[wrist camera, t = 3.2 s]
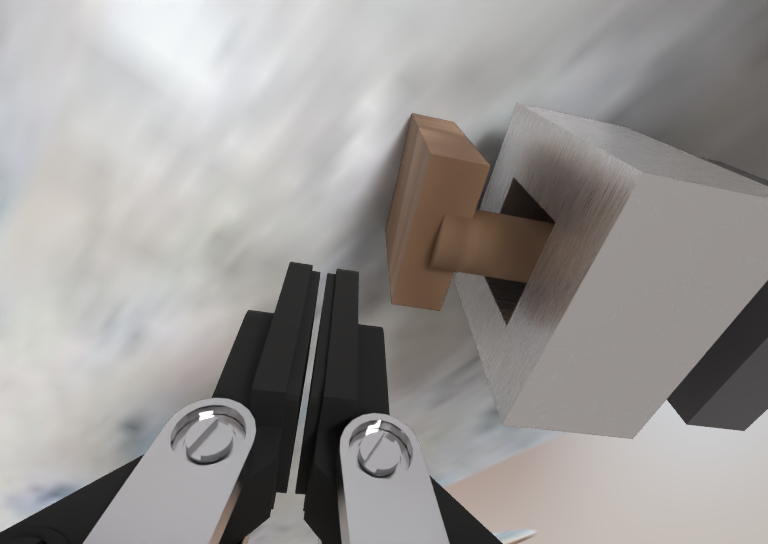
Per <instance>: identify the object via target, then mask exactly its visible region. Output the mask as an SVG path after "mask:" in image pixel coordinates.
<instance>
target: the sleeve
mask: <svg viewBox="0 0 768 544" xmlns="http://www.w3.org/2000/svg"><path fill="white" fill-rule="evenodd" d="M479 210H483V211H488V212H494V213H499V214H505V215H510V216H516V217H521V218H527V219H532V220H538V221H543V222H549V223H554V224H555V225H554V227H553V230H552V232H551V234H550V236H549V238H548V240H547V242H546V244H545V247H544V249H543V251H542V253H541V255H540V257H539V259H538V261H537V263H536V266H535V268H534V270H533V272H532V274H531V276H530V278H529V280H528V283H524V282H518V281H512V280H505V279H499V278H493V277H486V276H480V275H474V274H467V273H461V272H457V274H456V276H455V279H454V281H455V284H456V287H457V290H458V293H459V296H460V299H461V302H462V305H463V308H464V311H465V314H466V317H467V320H468V323H469V326H470V329H471V332H472V335H473V338H474V341H475V344H476V348H477V351H478V354H479V357H480V360H481V363H482V366H483V369H484V372H485V375H486V378H487V381H488V384H489V387H490V390H491V393H492V396H493V399H494V402H495V405H496V408H497V411H498V414H499V417H500V420H501V423H502V425H506V426H515V427H525V428H534V429H544V430H553V431H563V432H572V433H582V434H592V435H601V436H610V437H620V438H629V439H633V438H634V437H635V436H636V435H637V433H638V432H639V431H640V430H641V429H642V428H643V426H644V425H645V424H646V423H647V422H648V420H649V419H650V418H651V417H652V416H653V414H654V413H655V412H656V411H657V410H658V409H659V408H660V406H661V405H662V404H663V403H664V402H665V400H666V399H667V398H668V397H669V396H670V395H671V393H672V392H673V391H674V390H675V389H676V387H677V386H678V385H679V384H680V383H681V382H682V380H683V379H684V378H685V377H686V376H687V375H688V373H689V372H690V371H691V370H692V369H693V367H694V366H695V365H696V364H697V363H698V362H699V360H700V359H701V358H702V357H703V356H704V355H705V353H706V352H707V351H708V350H709V349H710V347H711V346H712V345H713V344H714V343H715V342H716V340H717V339H718V338H719V337H720V336H721V334H722V333H723V332H724V331H725V330H726V329H727V327H728V326H729V325H730V324H731V323H732V322H733V320H734V319H735V318H736V317H737V316H738V314H739V313H740V312H741V311H742V310H743V309H744V307H745V306H746V305H747V304H748V303H749V302H750V300H751V299H752V298H753V297H754V296H755V294H756V293H757V292H758V291H759V290H760V289H761V287H762V286H763V285H764V284H765V283H766V282H767V280H768V186H766V185H763V184H761V183H758V182H756V181H754V180H751V179H749V178H746V177H744V176H742V175H739V174H737V173H734V172H732V171H730V170H727V169H725V168H722V167H720V166H718V165H715V164H713V163H710V162H708V161H706V160H703V159H701V158H698V157H696V156H694V155H691V154H689V153H686V152H684V151H682V150H679V149H677V148H674V147H672V146H670V145H667V144H665V143H662V142H660V141H658V140H655V139H653V138H650V137H648V136H646V135H643V134H641V133H638V132H636V131H634V130H631V129H629V128H626V127H623V126H619V125H614V124H610V123H605V122H601V121H596V120H592V119H588V118H583V117H579V116H574V115H570V114H565V113H561V112H556V111H552V110H547V109H543V108H538V107H534V106H529V105H525V104H520V103H517V104H516V107H515V110H514V113H513V116H512V119H511V121H510V124H509V127H508V130H507V133H506V135H505V138H504V141H503V144H502V147H501V150H500V152H499V155H498V158H497V161H496V164H495V166H494V169H493V172H492V175H491V178H490V181H489V183H488V186H487V189H486V192H485V195H484V197H483V200H482V203H481V206H480V209H479Z"/></svg>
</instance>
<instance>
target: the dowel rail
mask: <svg viewBox="0 0 768 544" xmlns="http://www.w3.org/2000/svg"><path fill="white" fill-rule="evenodd" d="M490 167H491V165H490V164H489V163H488V162H487V161H486V159H485V158H484V157H483V156H482V155H481V153H480V152H479V151H478V150H477V149H476V148H475V146H474V145H473V144H472V143H471V142H470V140H469V139H468V138H467V137H466V136H465V135H464V133H463V132H462V131H461V130H460V129H459V127H458V126H457V125H456V124H455V123H454V122H451V121H446V120H441V119H437V118H432V117H427V116H422V115H418V114H413V113H412V116H411V120H410V124H409V129H408V133H407V138H406V142H405V146H404V151H403V155H402V159H401V164H400V168H399V173H398V177H397V181H396V186H395V190H394V195H393V199H392V203H391V208H390V212H389V217H388V221H387V225H386V230H385V232H386V244H387V256H388V268H389V280H390V292H391V303H392V304H396V305H403V306H410V307H416V308H423V309H430V310H437V311H440V310H441V307H442V304H443V302H444V299H445V296H446V293H447V290H448V287H449V284H450V282H451V279H452V276H453V273H454V271H455V272H461V273H467V274H474V275H480V276H486V277H493V278H499V279H505V280H512V281H518V282H524V283H528V280H529V278H530V276H531V274H532V272H533V270H534V268H535V266H536V263H537V261H538V259H539V257H540V255H541V253H542V251H543V249H544V247H545V244H546V242H547V240H548V238H549V236H550V234H551V232H552V230H553V227H554V225H555V224H554V223H549V222H543V221H538V220H532V219H527V218H521V217H516V216H510V215H505V214H499V213H494V212H488V211H483V210H477V209H476V207H477V204H478V201H479V199H480V196H481V193H482V190H483V187H484V184H485V181H486V179H487V176H488V173H489V170H490Z"/></svg>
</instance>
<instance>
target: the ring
mask: <svg viewBox="0 0 768 544" xmlns="http://www.w3.org/2000/svg"><path fill="white" fill-rule="evenodd" d="M698 158H699V157H698ZM701 159H703V160H706V161H708V162H710V163H713V164H715V165H718V166H720V167H722V168H725V169H727V170H730V171H732V172H734V173H737V174H739V175H742V176H744V177H746V178H749V179H751V180H754V181H756V182H758V183H761V184H763V185H766V186H768V181H766V180H764V179H761V178H759V177H756V176H754V175H751V174H749V173H746V172H744V171H741V170H739V169H736V168H734V167H731V166H729V165H727V164H724V163H722V162H718V161H713V160H708V159H704V158H701ZM667 400H668V402H669V403H670V404H671V405H672V407H673V408H674V409H675V410H676V411H677V413H678V414H679V415H680V417H681V418H682V419H683V420H684V422H685V423H686V424H688V425H696V426H705V427H715V428H723V429H733V430H741V431H745V430H746V429H747V428H748V427H749V426H750V425H751V424H752V423H753V422H754V421H755V420H756V419H757V418H758V417H760V416H761V415H762V414H763V413H764V412H765V411H766V410H767V409H768V280H767V282H766V283H765V284H764V285H763V286H762V287H761V289H760V290H759V291H758V292H757V293H756V294H755V296H754V297H753V298H752V299H751V300H750V302H749V303H748V304H747V305H746V306H745V307H744V309H743V310H742V311H741V312H740V313H739V314H738V316H737V317H736V318H735V319H734V320H733V322H732V323H731V324H730V325H729V326H728V327H727V329H726V330H725V331H724V332H723V333H722V334H721V336H720V337H719V338H718V339H717V340H716V342H715V343H714V344H713V345H712V346H711V347H710V349H709V350H708V351H707V352H706V353H705V355H704V356H703V357H702V358H701V359H700V360H699V362H698V363H697V364H696V365H695V366H694V367H693V369H692V370H691V371H690V372H689V373H688V375H687V376H686V377H685V378H684V379H683V380H682V382H681V383H680V384H679V385H678V386H677V387H676V389H675V390H674V391H673V392H672V393H671V395H670V396H669V397H668V398H667Z"/></svg>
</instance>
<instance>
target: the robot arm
mask: <svg viewBox="0 0 768 544" xmlns="http://www.w3.org/2000/svg"><path fill="white" fill-rule="evenodd" d="M312 268H313V265H308V264H302V263H295V262H290V264H289V267H288V270H287V274H286V277H285V280H284V283H283V287H282V290H281V293H280V296H279V300H278V303H277V306H276V310H275V313H267V312H260V311H252V310H248V311H247V313H246V315H245V317H244V320H243V322H242V325H241V327H240V330H239V332H238V335H237V337H236V339H235V342H234V344H233V347H232V349H231V352H230V354H229V357H228V359H227V362H226V364H225V367H224V369H223V372H222V374H221V377H220V379H219V381H218V384H217V386H216V389H215V391H214V394H213V396H212V398H210V399H203V400H200V401H197V402H194V403H192V404H189V405H187V406H186V407H184V408H182V409H181V410H179V411H178V412H176V413H175V414H174V415H173V416H172V417H171V419H170V420H169V421H168V422H167V423H166V424H165V426H164V427H163V428H162V430H161V431H160V433H159V434H158V436H157V437H156V439H155V440H154V441H153V443H152V444H151V446H150V447H149V449H148V450H147V452H146V453H145V454H144V455H142V456H140V457H138V458H137V459H135V460H133V461H131V462H129V463H127V464H126V465H124V466H122V467H120V468H118V469H116V470H115V471H113V472H111V473H109V474H107V475H105V476H103V477H102V478H100V479H98V480H96V481H94V482H92V483H91V484H89V485H87V486H85V487H83V488H81V489H80V490H78V491H76V492H74V493H72V494H70V495H69V496H67V497H65V498H63V499H61V500H59V501H57V502H56V503H54V504H52V505H50V506H48V507H46V508H45V509H43V510H41V511H39V512H37V513H35V514H34V515H32V516H30V517H28V518H26V519H24V520H23V521H21V522H19V523H17V524H15V525H13V526H11V527H10V528H8V529H6V530H4V531H2V532H0V544H247V543H248V539H249V534H250V533H251V532H252V531H253V530H255V529H256V528H257V527H258V526H260V525H261V524H262V523H263V522H264V521H266V520H267V519H268V518H269V517H270V513H271V509H273V507H274V502H275V496H276V492H279V493H286V492H287V487H288V481H289V474H290V468H291V462H292V456H293V450H294V444H295V437H296V431H297V425H298V419H299V413H300V407H301V400H302V394H303V388H304V382H305V376H306V370H307V363H308V357H309V350H310V343H311V336H312V329H313V322H314V315H315V308H316V301H317V294H318V287H319V279H320V272H316V271H312ZM358 290H359V272H356V271H349V270H342V269H337V271H336V274H330V273H328V274H327V280H326V286H325V293H324V300H323V306H322V313H321V319H320V326H319V332H318V339H317V345H316V352H315V359H314V365H313V372H312V379H311V386H310V393H309V400H308V407H307V414H306V421H305V428H304V435H303V442H302V449H301V456H300V463H299V470H298V477H297V484H296V491H295V494H305V501H304V509H303V511H305V513H304V520H305V521H306V523H307V524H308V525H309V526H310V528H311V529H312V530H313V531H314V533H315V534H316V535H317V536H318V544H503V543H501V542H500V541H499V540H498V539H497V538H496V537H495V536H494V535H493V534H492V533H491V532H489V530H487V529H486V528H485V527H484V526H483V525H482V524H481V523H480V522H479V521H478V520H477V519H476V518H475V517H474V516H472V515H471V514H470V513H469V512H468V511H467V510H466V509H465V508H464V507H463V506H462V505H461V504H460V503H459V502H457V501H456V500H455V499H454V498H453V497H452V496H451V495H450V494H449V493H448V492H447V491H446V490H444V489H443V488H442V487H441V486H440V485H439V484H438V483H437V482H436V481H435V480H434V479H433V478H432V477H431V476H430V475H429V473H428V470H427V466H426V463H425V460H424V456H423V453H422V449H421V446H420V444H419V442H418V439H417V437H416V435H415V434H414V433H413V432H412V430H411V429H410V428H409V427H408V426H407V425H406V424H404V423H403V422H402V421H400V420H399V419H397V418H394V417H392V416H390V415H389V401H388V387H387V373H386V358H385V344H384V332H383V328H382V327H376V326H368V325H360V324H358Z"/></svg>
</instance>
